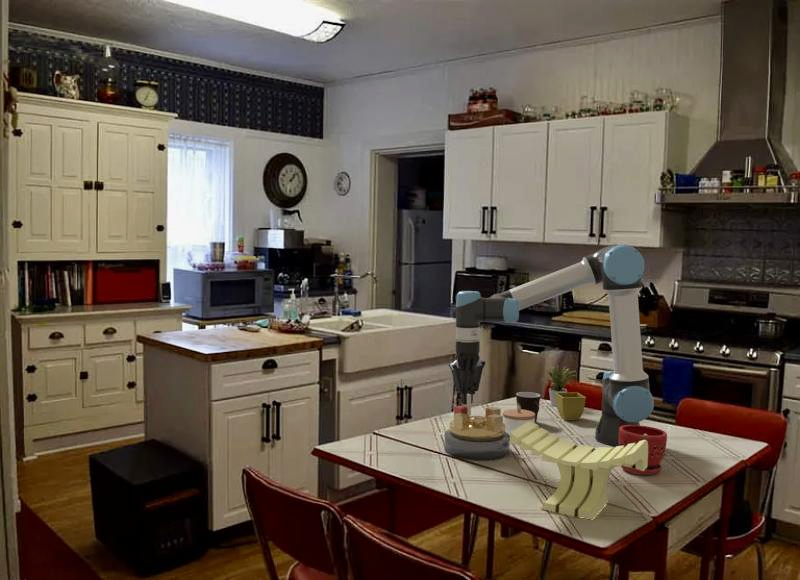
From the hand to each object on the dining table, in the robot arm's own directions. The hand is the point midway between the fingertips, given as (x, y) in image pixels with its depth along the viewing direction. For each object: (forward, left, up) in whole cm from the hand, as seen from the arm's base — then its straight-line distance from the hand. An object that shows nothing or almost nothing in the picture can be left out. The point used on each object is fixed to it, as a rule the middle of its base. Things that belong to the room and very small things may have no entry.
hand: (466, 414), depth 232 cm
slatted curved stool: (-51, +21, -10) cm, 56 cm away
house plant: (+9, -69, -10) cm, 71 cm away
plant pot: (-50, -17, -10) cm, 54 cm away
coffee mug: (+2, -37, -10) cm, 39 cm away
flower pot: (-5, -54, -10) cm, 56 cm away
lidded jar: (-5, -21, -10) cm, 24 cm away
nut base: (-6, +3, -10) cm, 12 cm away
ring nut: (-6, +3, -5) cm, 8 cm away
